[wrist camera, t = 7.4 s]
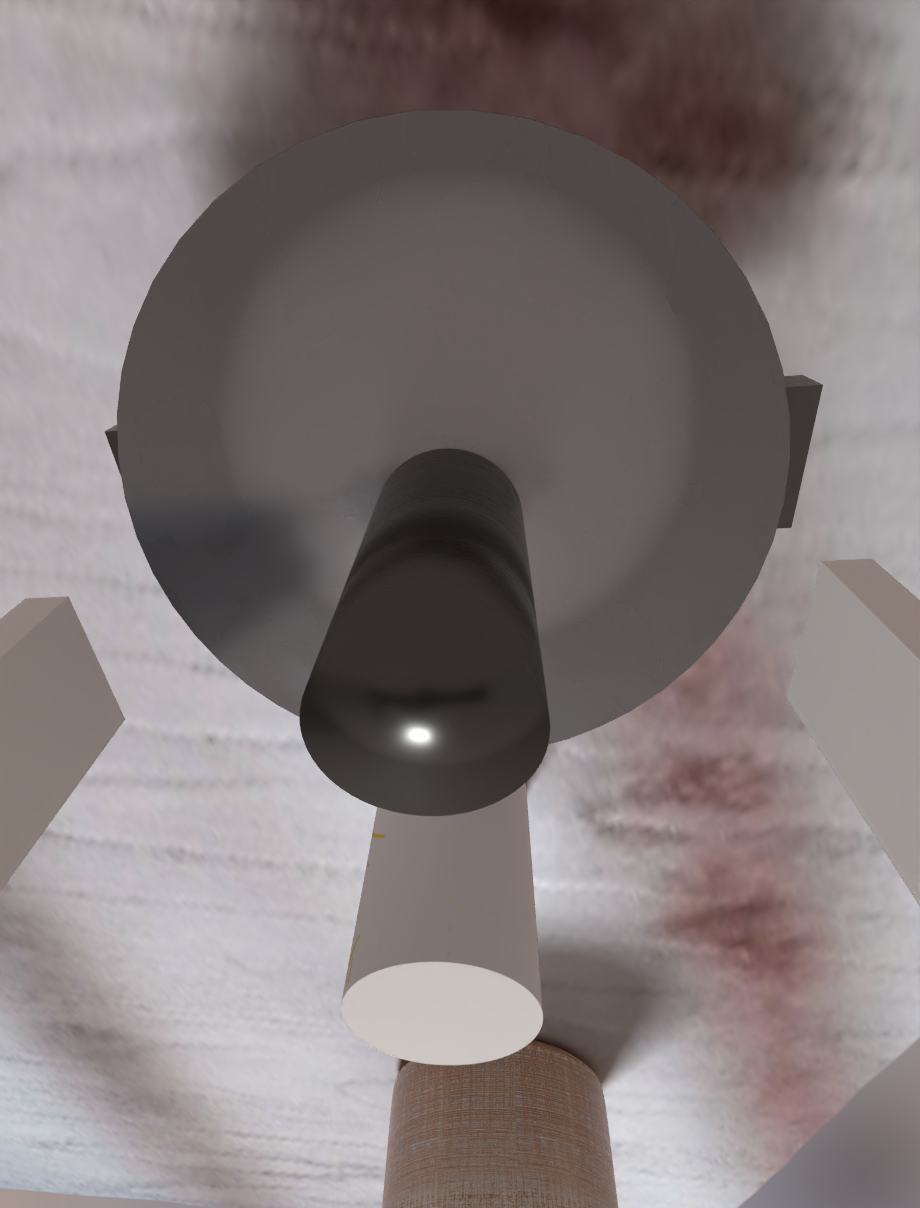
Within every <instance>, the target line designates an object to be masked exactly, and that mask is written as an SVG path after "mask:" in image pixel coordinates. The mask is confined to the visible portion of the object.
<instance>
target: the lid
mask: <svg viewBox="0 0 920 1208" xmlns="http://www.w3.org/2000/svg"><path fill="white" fill-rule="evenodd" d="M117 430H118V459H119V464H120V470H121V476H122V482H123V488H124V494H125V499H126V503H127V506H128V509H129V513H130V516H131V519H132V522H133V526H134V529H135V532H136V535H137V538H138V541H139V543H140V545H141V547H142V549H143V552H144V554H145V556H146V558H147V561H148V563H149V565H150V567H151V570H152V572H153V574H154V575H155V577H156V579H157V580H158V582H159V584H160V585H161V587H162V589H163V590H164V592H165V594H166V595H167V597H168V599H169V600H170V602H171V604H172V606H173V607H174V608H175V610H176V611H177V612H178V613H179V615H180V616H181V617H182V619H183V620H184V621H185V623H186V624H187V625H188V626H189V628H190V629H191V630H192V632H193V633H194V634H195V636H196V637H197V638H198V639H199V640H200V641H201V642H202V643H203V644H204V645H205V646H206V647H207V648H208V649H209V650H210V651H211V652H212V653H213V654H214V655H215V656H216V658H217V659H218V660H219V661H220V662H221V663H223V664H224V665H225V666H226V667H227V668H229V669H230V670H231V671H232V672H233V673H234V674H236V675H237V676H238V677H239V678H240V679H242V680H243V681H244V682H245V683H246V684H247V685H249V686H250V687H252V688H253V689H255V690H256V691H258V692H259V693H261V694H262V695H263V696H265V697H266V698H268V699H269V700H271V701H272V702H274V703H275V704H277V705H278V706H280V707H282V708H284V709H286V710H288V711H289V712H291V713H293V714H295V715H297V716H299V717H300V727H301V733H302V737H303V740H304V742H305V745H306V748H307V750H308V751H309V753H310V755H311V757H312V759H313V760H314V761H315V763H316V764H317V766H318V767H319V768H320V769H321V771H322V772H323V773H324V774H325V775H326V776H327V777H328V778H329V779H330V780H331V781H333V782H334V783H335V784H336V785H338V786H339V787H340V788H341V789H343V790H345V791H346V792H348V793H349V794H351V795H352V796H354V797H356V798H358V799H360V800H362V801H364V802H366V803H369V804H371V805H374V806H376V807H379V808H382V809H386V810H389V811H392V812H397V813H402V814H408V815H417V816H448V815H456V814H462V813H467V812H471V811H475V810H479V809H481V808H484V807H487V806H489V805H492V804H494V803H496V802H498V801H500V800H502V799H504V798H506V797H507V796H509V795H510V794H512V793H513V792H515V791H516V790H518V789H519V788H520V787H521V786H522V785H523V784H525V783H526V782H527V781H528V779H529V778H530V777H531V776H532V775H533V774H534V773H535V771H536V770H537V768H538V767H539V765H540V764H541V762H542V760H543V757H544V755H545V753H546V750H547V747H548V744H551V743H555V742H558V741H562V740H565V739H569V738H572V737H574V736H577V735H579V734H582V733H585V732H587V731H590V730H592V729H595V728H597V727H600V726H602V725H604V724H606V723H608V722H610V721H612V720H614V719H616V718H618V717H620V716H622V715H624V714H626V713H627V712H629V711H631V710H633V709H635V708H636V707H638V706H639V705H641V704H642V703H644V702H645V701H647V700H648V699H650V698H651V697H653V696H654V695H656V694H657V693H659V692H661V691H662V690H663V689H664V688H666V687H667V686H668V685H669V684H670V683H672V682H673V681H674V680H675V679H677V678H678V677H679V676H680V675H681V674H683V673H684V672H685V671H686V670H687V669H689V668H690V667H691V666H692V665H693V664H694V663H695V662H696V661H697V659H698V658H699V657H700V656H701V655H702V654H703V653H704V652H705V651H706V650H707V649H708V648H709V647H710V646H711V645H712V644H713V643H714V642H715V641H716V639H717V638H718V637H719V635H720V634H721V633H722V632H723V630H724V629H725V628H726V626H727V625H728V624H729V622H730V621H731V620H732V618H733V617H734V616H735V614H736V613H737V612H738V610H739V608H740V607H741V605H742V603H743V602H744V600H745V598H746V597H747V595H748V593H749V591H750V590H751V588H752V586H753V585H754V583H755V581H756V579H757V578H758V575H759V573H760V571H761V568H762V566H763V564H764V561H765V559H766V557H767V554H768V552H769V549H770V547H771V545H772V542H773V539H774V536H775V532H776V529H777V525H778V521H779V518H780V514H781V511H782V507H783V504H784V498H785V491H786V483H787V476H788V469H789V461H790V414H789V408H788V401H787V395H786V388H785V382H784V375H783V369H782V365H781V362H780V359H779V356H778V353H777V349H776V346H775V343H774V340H773V336H772V333H771V330H770V327H769V324H768V321H767V319H766V317H765V315H764V313H763V311H762V309H761V307H760V305H759V303H758V301H757V299H756V297H755V295H754V293H753V291H752V288H751V286H750V284H749V282H748V280H747V278H746V277H745V275H744V274H743V272H742V271H741V269H740V268H739V267H738V265H737V264H736V262H735V261H734V259H733V258H732V257H731V255H730V254H729V252H728V251H727V249H726V248H725V247H724V245H723V244H722V242H721V241H720V239H719V238H718V237H717V235H716V234H715V233H714V232H713V231H712V230H711V229H710V228H709V227H708V226H707V225H706V224H705V223H704V222H703V221H702V220H701V219H700V217H699V216H698V215H697V214H696V213H695V212H694V211H693V210H692V209H691V208H690V207H689V206H688V205H687V204H686V203H685V202H684V201H683V200H682V199H681V198H680V197H679V196H678V195H677V194H675V193H674V192H673V191H671V190H670V189H669V188H667V187H666V186H665V185H663V184H662V183H661V182H659V181H658V180H657V179H655V178H654V177H653V176H651V175H650V174H649V173H647V172H646V171H644V170H643V169H642V168H640V167H639V166H638V165H636V164H635V163H634V162H632V161H630V160H628V159H626V158H624V157H622V156H620V155H618V154H616V153H614V152H612V151H611V150H609V149H607V148H605V147H603V146H601V145H599V144H597V143H595V142H593V141H591V140H589V139H587V138H585V137H583V136H581V135H577V134H574V133H571V132H568V131H565V130H562V129H559V128H556V127H553V126H550V125H547V124H544V123H541V122H537V121H534V120H531V119H528V118H522V117H515V116H508V115H502V114H495V113H488V112H482V111H475V110H428V111H409V112H403V113H398V114H392V115H387V116H381V117H376V118H371V119H365V120H360V121H355V122H352V123H350V124H347V125H344V126H341V127H339V128H336V129H333V130H330V131H328V132H325V133H322V134H319V135H317V136H314V137H311V138H308V139H306V140H303V141H301V142H299V143H298V144H296V145H294V146H292V147H291V148H289V149H287V150H285V151H284V152H282V153H280V154H278V155H276V156H275V157H273V158H271V159H269V160H268V161H266V162H264V163H262V164H261V165H259V166H257V167H255V168H254V169H253V170H252V171H250V172H249V173H248V174H247V175H245V176H244V177H243V178H242V179H240V180H239V181H238V182H237V183H235V184H234V185H233V186H232V187H231V188H229V189H228V190H227V191H226V192H224V193H223V194H222V195H221V196H219V197H218V198H217V199H216V200H214V201H213V202H212V204H211V205H210V206H209V207H208V208H207V209H206V210H205V211H204V213H203V214H202V215H201V216H200V217H199V218H198V219H197V220H196V222H195V223H194V224H193V225H192V226H191V227H190V228H189V229H188V231H187V232H186V233H185V234H184V235H183V236H182V237H181V238H180V240H179V241H178V243H177V244H176V246H175V247H174V249H173V251H172V252H171V254H170V255H169V257H168V258H167V260H166V262H165V263H164V265H163V266H162V268H161V269H160V271H159V273H158V274H157V276H156V277H155V279H154V280H153V282H152V284H151V287H150V289H149V291H148V294H147V296H146V298H145V301H144V303H143V305H142V308H141V310H140V312H139V314H138V317H137V319H136V321H135V324H134V326H133V330H132V334H131V338H130V341H129V345H128V349H127V353H126V357H125V360H124V364H123V368H122V374H121V383H120V392H119V401H118V410H117Z"/></svg>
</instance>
